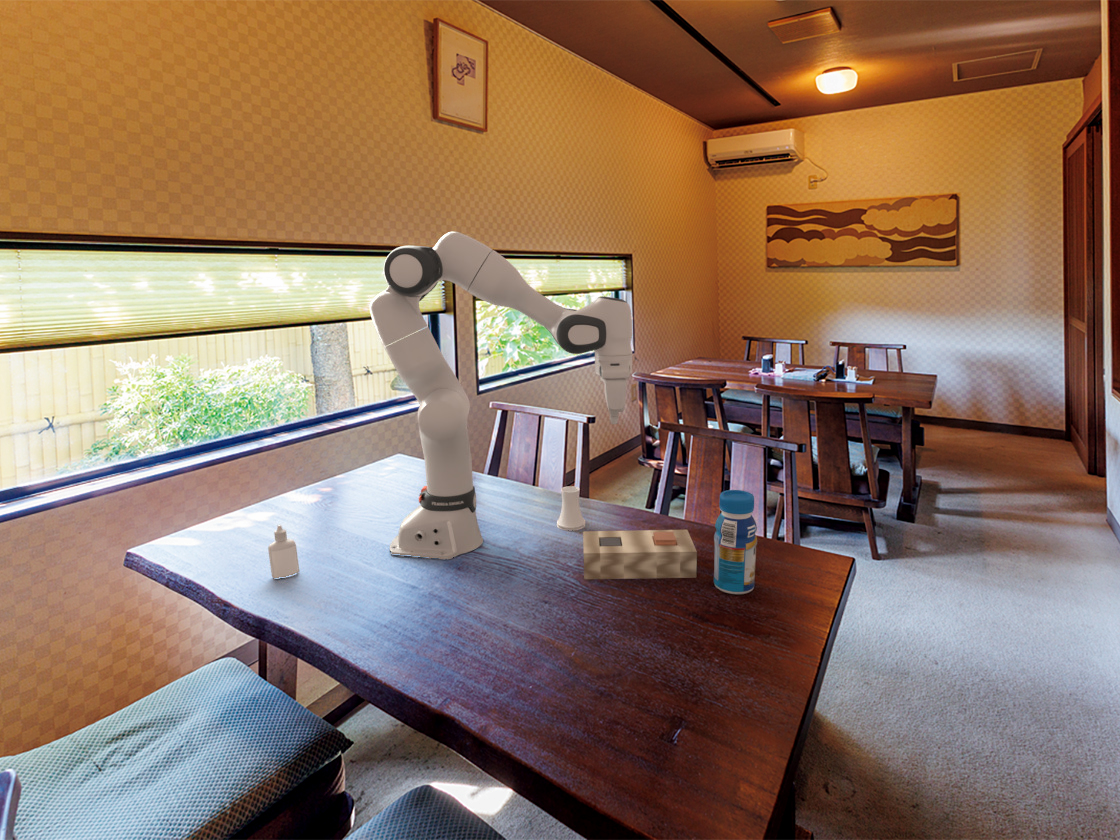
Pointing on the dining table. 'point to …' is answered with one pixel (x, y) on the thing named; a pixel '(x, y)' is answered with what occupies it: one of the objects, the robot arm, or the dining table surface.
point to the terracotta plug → (664, 538)
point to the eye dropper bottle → (283, 555)
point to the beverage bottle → (735, 543)
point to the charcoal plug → (610, 541)
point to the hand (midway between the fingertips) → (613, 423)
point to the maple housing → (638, 556)
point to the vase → (570, 510)
